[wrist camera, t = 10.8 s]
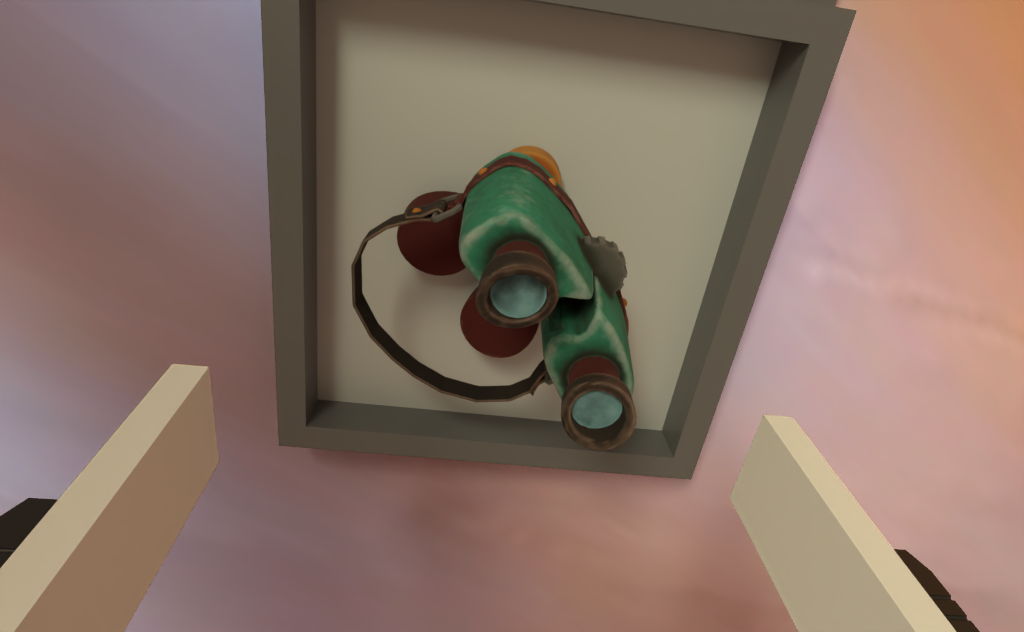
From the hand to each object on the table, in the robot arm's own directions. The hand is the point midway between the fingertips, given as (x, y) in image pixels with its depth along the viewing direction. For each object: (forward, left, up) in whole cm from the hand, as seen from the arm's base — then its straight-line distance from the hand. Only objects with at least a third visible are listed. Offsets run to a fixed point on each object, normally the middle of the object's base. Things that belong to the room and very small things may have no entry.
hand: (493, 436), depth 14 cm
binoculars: (0, 0, -13) cm, 13 cm away
